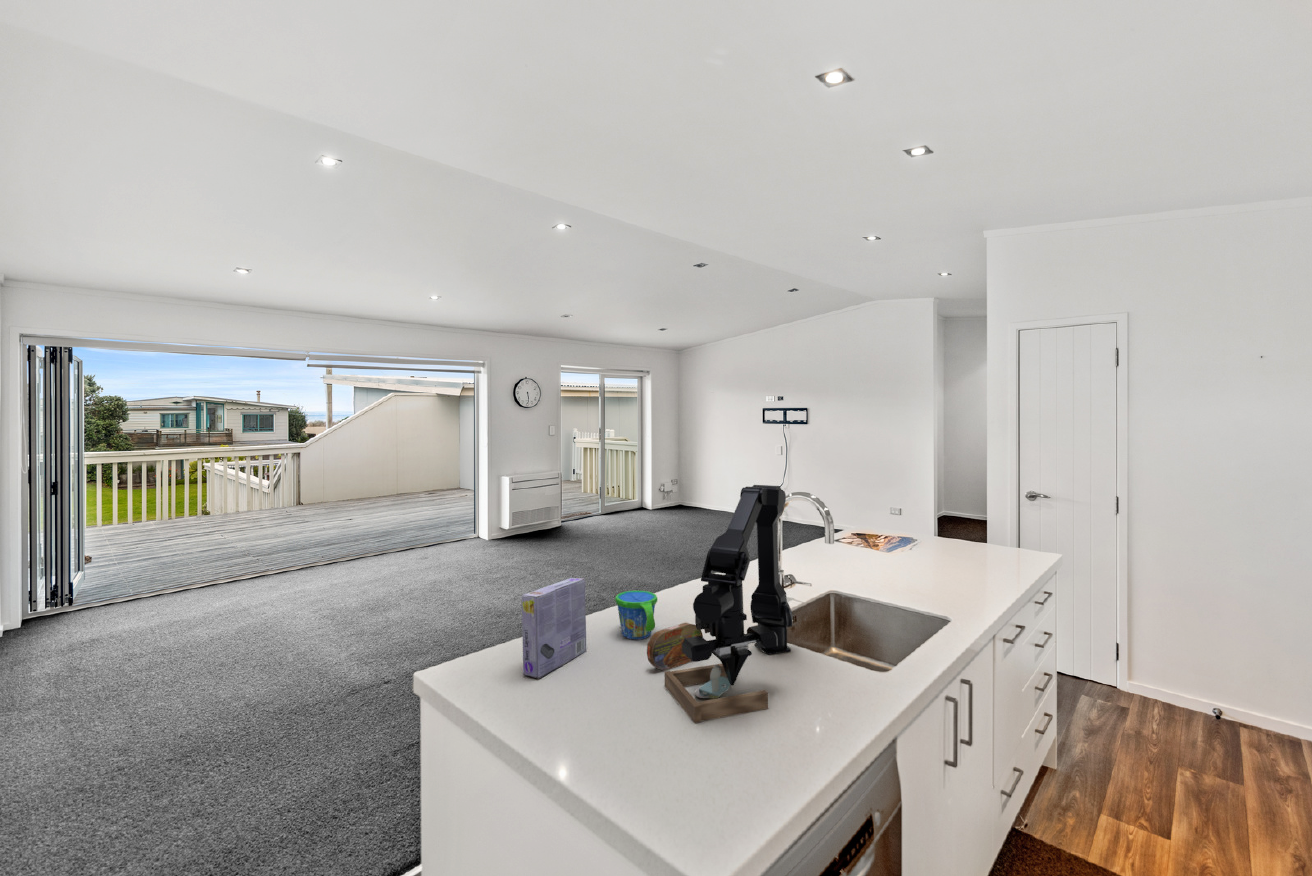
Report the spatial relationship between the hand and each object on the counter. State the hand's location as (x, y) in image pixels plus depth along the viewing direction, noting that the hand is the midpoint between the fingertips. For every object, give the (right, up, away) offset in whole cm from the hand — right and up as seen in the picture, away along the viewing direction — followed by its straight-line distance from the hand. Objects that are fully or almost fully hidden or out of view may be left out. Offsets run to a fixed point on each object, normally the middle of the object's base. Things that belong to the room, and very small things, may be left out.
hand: (731, 684), depth 116 cm
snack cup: (-20, -2, +33) cm, 39 cm away
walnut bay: (-4, -2, -1) cm, 5 cm away
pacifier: (-4, -2, 0) cm, 5 cm away
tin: (-11, -2, +16) cm, 19 cm away
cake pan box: (-38, -2, +17) cm, 41 cm away
